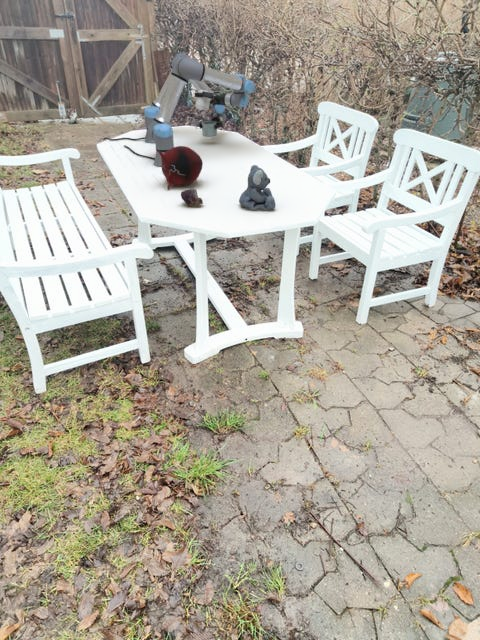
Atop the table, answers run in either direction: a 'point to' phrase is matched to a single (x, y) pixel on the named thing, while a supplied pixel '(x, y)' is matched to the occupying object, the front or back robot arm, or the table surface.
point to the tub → (209, 129)
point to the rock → (191, 197)
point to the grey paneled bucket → (202, 101)
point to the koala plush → (257, 191)
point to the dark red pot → (181, 165)
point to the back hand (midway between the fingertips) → (207, 127)
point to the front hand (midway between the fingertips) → (198, 97)
